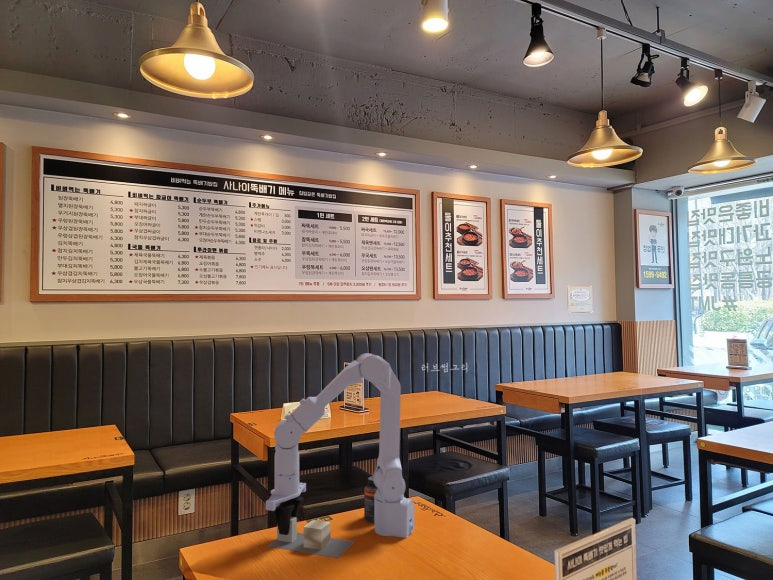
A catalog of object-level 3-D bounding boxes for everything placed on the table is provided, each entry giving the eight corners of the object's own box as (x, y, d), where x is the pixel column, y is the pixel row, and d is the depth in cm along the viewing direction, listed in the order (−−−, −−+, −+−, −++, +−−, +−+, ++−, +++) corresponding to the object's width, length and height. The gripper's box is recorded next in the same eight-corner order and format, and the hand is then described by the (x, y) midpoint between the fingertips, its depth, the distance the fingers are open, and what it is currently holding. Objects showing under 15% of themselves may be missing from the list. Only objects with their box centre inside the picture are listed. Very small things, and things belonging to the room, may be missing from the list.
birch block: (330, 542, 121) (330, 522, 122) (321, 550, 117) (321, 529, 117) (313, 539, 123) (313, 519, 123) (303, 547, 119) (303, 526, 119)
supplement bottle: (384, 527, 132) (384, 482, 133) (361, 526, 133) (361, 480, 134) (389, 519, 138) (388, 475, 139) (367, 517, 139) (367, 474, 140)
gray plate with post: (355, 545, 121) (355, 519, 122) (338, 562, 113) (337, 534, 113) (287, 535, 128) (287, 510, 128) (266, 550, 119) (266, 523, 120)
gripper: (288, 463, 132) (288, 518, 131) (254, 479, 118) (254, 541, 118) (313, 465, 129) (313, 522, 129) (281, 482, 116) (281, 546, 115)
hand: (286, 531), depth 123 cm, fingers closed on gray plate with post, 2 cm apart
